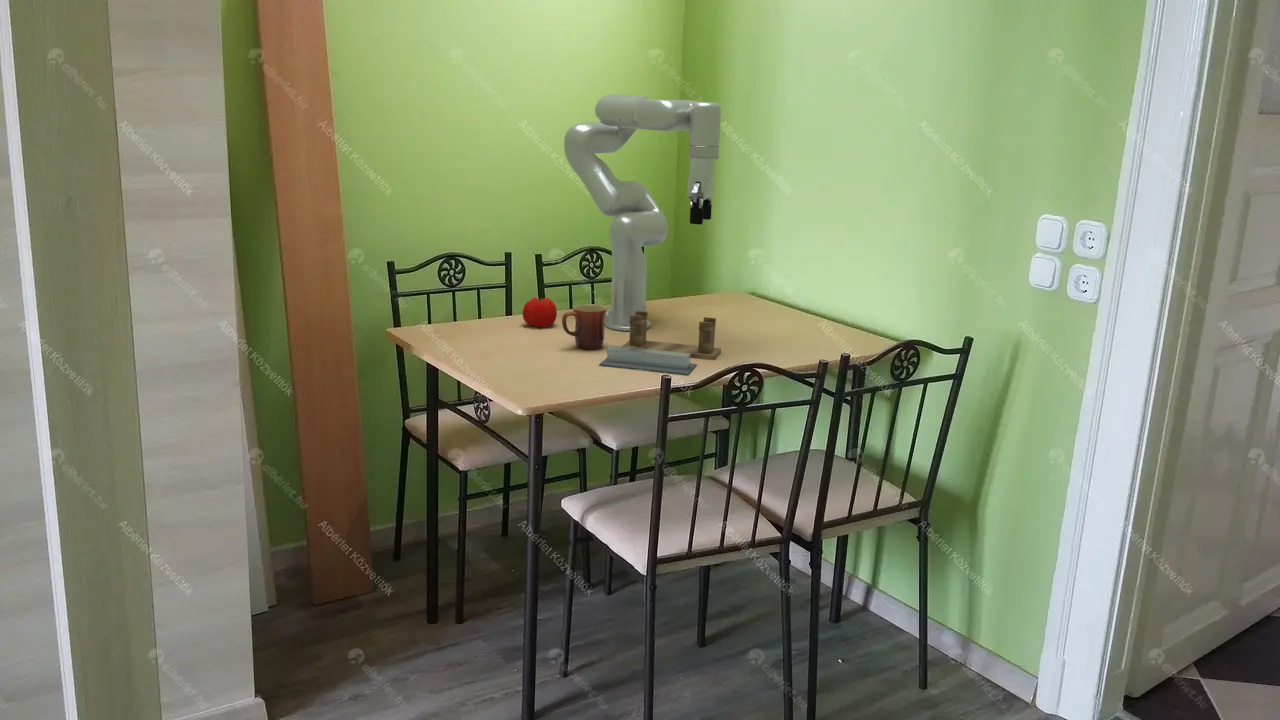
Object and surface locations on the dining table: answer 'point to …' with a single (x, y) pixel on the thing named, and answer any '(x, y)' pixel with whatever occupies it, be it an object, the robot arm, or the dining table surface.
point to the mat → (648, 367)
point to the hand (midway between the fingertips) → (700, 221)
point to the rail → (648, 357)
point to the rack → (701, 351)
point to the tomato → (539, 312)
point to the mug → (587, 325)
